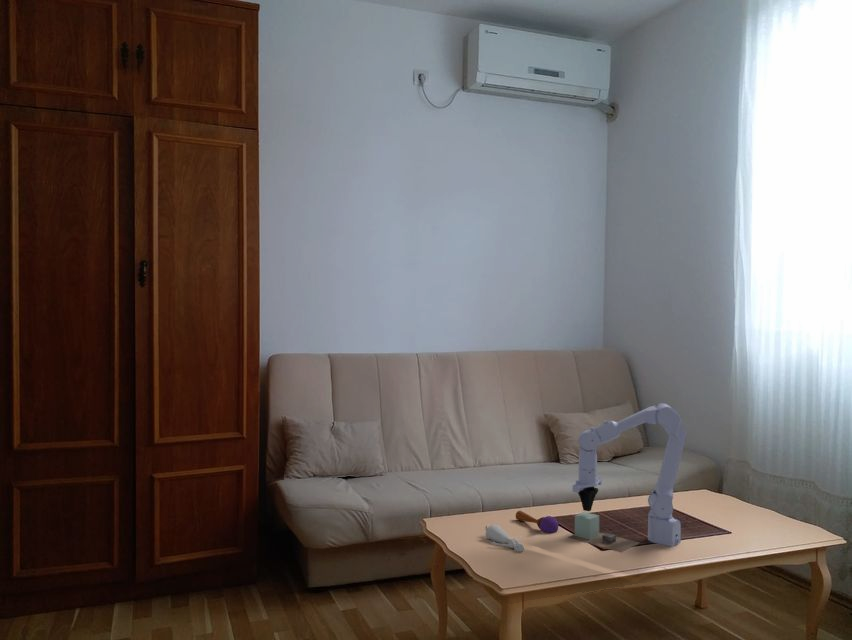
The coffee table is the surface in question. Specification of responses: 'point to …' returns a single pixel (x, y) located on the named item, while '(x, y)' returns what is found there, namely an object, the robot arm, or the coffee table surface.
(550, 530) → the purple and brown maraca
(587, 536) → the frosted mint cube
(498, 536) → the woman figurine
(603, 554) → the coffee table surface
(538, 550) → the coffee table surface
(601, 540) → the board
